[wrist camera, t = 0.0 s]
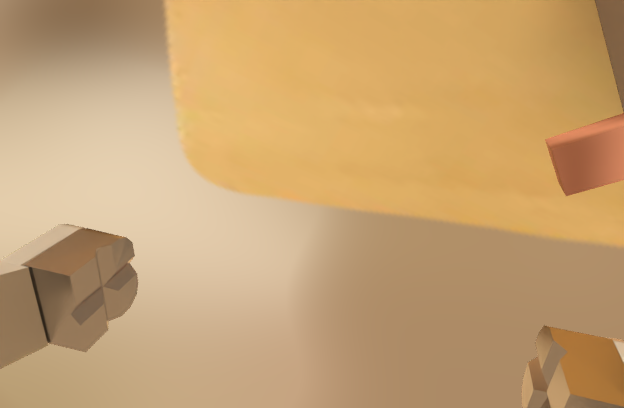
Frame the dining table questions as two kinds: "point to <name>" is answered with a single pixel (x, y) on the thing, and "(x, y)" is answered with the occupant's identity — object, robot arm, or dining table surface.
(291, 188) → the dining table surface
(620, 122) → the copper-colored stick
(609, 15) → the shelf block
